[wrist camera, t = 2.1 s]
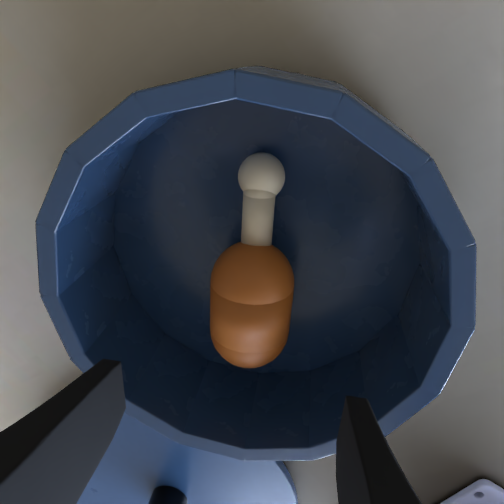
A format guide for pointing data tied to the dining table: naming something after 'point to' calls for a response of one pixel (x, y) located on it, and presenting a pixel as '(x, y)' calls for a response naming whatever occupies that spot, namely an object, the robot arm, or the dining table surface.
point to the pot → (283, 238)
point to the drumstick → (253, 275)
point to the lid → (180, 473)
